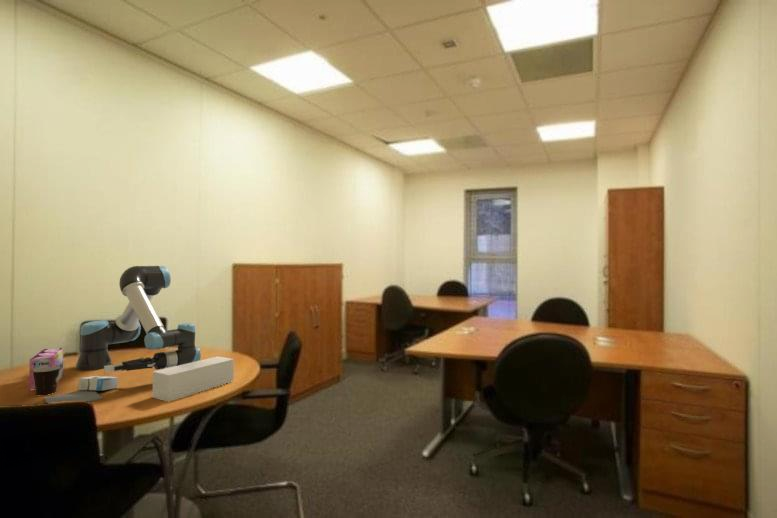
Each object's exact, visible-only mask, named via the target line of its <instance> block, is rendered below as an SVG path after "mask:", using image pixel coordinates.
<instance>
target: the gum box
mask: <svg viewBox="0 0 777 518" xmlns="http://www.w3.org/2000/svg"><path fill="white" fill-rule="evenodd" d="M44 367H59V368H60V369H59V375H58V380H59V381H60V379H62V377H64V348H63V347H59V349H57V348H56V349H54V348H53V349H48V348H43V349H41V350H40V351H39V352H38V353H36V354H35V355H33V356H32V357H31V358H29V369H28V370H29V375H28V377H29V378H28V381H29V382H28V387H29V388H28V391H29V390H31V389H35V382H34V375H33V370H35V369H39V368H44ZM31 391H32V390H31Z"/></svg>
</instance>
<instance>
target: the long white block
mask: <svg viewBox="0 0 777 518" xmlns="http://www.w3.org/2000/svg"><path fill="white" fill-rule="evenodd" d="M234 361H235V358H229V357H225V356H224V357H223V356H218V355H217V356H213V357H209V358H205V359H200V360H199V361H196V362H192V363H187V364H183V365H179V366H174V367H170V368H164V369H159V370H153V371H152V393H151V395H152V396H151V397H152V398H154V399H157V400H161V401H165V402H167V403H168V402H172V401H176V400H179V399H182V398H185V397H188V396H192V395H195V394H198V392H199V393H202V392H205V391H208V390H211V388H212V389H214V388H213V387H215V388H217V386H218V387H220V385H221V386H224V385H223V384H225V385H227V384H226V383H228V384H230V383H229V382H231V381H234V380H235V379H234V374H235V372H234V371H235V369H234V368H235V367H234V365H235V362H234ZM231 383H232V382H231ZM204 390H205V391H204ZM201 391H202V392H201Z"/></svg>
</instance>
